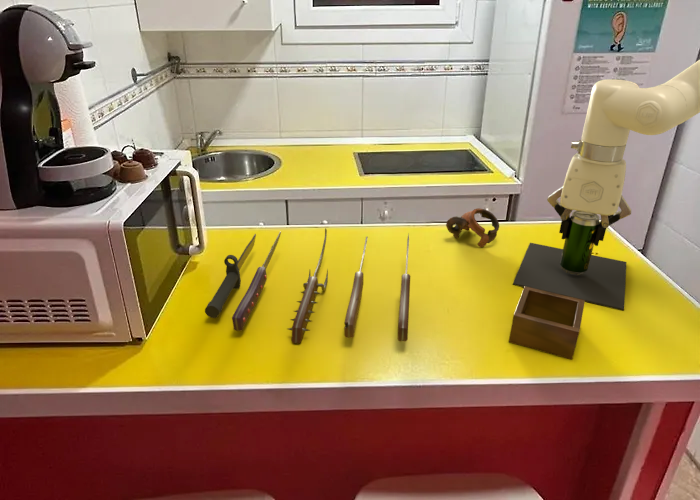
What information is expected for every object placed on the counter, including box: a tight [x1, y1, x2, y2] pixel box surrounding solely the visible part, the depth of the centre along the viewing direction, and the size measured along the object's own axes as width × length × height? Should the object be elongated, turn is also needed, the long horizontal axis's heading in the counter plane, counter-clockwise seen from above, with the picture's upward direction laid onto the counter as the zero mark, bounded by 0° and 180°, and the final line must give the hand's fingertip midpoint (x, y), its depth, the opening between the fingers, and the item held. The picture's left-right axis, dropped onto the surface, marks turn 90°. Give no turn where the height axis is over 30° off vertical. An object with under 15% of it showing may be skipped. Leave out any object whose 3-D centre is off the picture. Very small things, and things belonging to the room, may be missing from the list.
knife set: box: [204, 228, 411, 344], centre depth 98 cm, size 35×33×8 cm
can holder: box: [508, 286, 586, 360], centre depth 87 cm, size 10×10×6 cm
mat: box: [512, 242, 627, 312], centre depth 107 cm, size 20×20×1 cm
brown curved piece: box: [445, 207, 500, 248], centre depth 119 cm, size 12×10×8 cm
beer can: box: [560, 210, 601, 275], centre depth 103 cm, size 5×5×12 cm
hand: (580, 238), depth 103 cm, fingers closed on beer can, 5 cm apart
